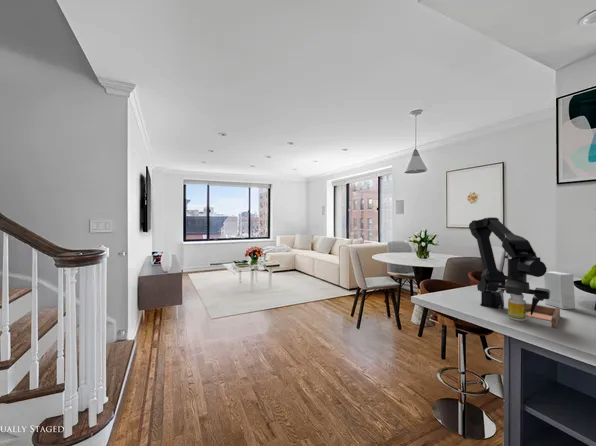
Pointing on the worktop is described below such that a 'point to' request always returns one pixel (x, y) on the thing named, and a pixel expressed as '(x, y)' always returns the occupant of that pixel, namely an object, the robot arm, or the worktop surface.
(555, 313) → the walnut corner walls
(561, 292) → the skincare box
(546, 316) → the terracotta mat
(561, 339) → the worktop surface
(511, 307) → the supplement bottle
